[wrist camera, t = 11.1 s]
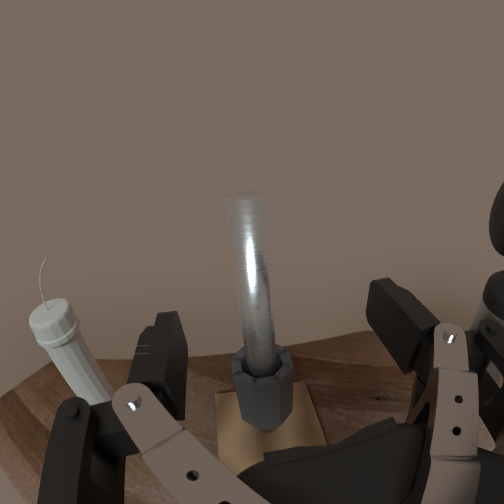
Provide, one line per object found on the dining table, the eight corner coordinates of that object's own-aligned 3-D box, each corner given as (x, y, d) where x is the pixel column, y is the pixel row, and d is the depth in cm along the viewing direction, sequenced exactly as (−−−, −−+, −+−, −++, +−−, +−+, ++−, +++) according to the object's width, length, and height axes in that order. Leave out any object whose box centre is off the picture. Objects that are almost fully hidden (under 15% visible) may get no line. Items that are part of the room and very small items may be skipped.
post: (303, 385, 40) (307, 175, 27) (328, 458, 27) (383, 213, 14) (216, 399, 39) (167, 191, 26) (222, 476, 26) (124, 244, 13)
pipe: (122, 420, 34) (30, 247, 22) (156, 429, 33) (65, 244, 21) (110, 447, 29) (-5, 271, 17) (145, 458, 28) (26, 272, 16)
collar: (285, 386, 34) (284, 338, 30) (295, 422, 28) (298, 379, 24) (238, 393, 33) (229, 346, 29) (243, 431, 27) (233, 389, 24)
